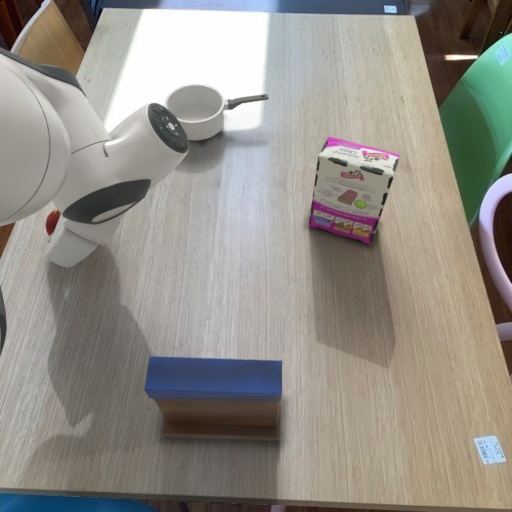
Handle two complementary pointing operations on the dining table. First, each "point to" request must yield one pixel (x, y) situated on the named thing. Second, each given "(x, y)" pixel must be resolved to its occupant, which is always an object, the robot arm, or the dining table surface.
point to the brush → (217, 397)
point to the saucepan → (202, 109)
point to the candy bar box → (351, 188)
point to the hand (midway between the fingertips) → (60, 223)
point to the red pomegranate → (52, 221)
